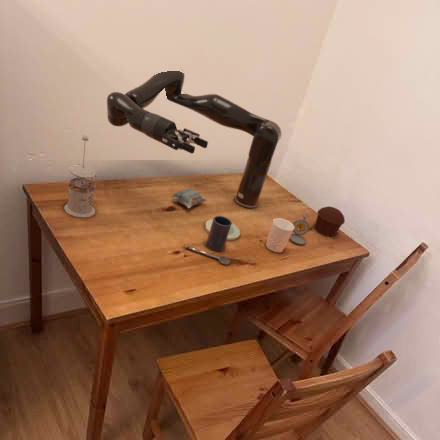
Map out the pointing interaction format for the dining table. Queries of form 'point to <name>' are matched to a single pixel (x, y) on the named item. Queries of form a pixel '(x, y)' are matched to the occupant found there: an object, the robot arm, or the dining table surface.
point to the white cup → (279, 234)
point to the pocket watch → (296, 237)
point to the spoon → (221, 259)
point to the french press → (81, 190)
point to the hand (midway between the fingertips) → (200, 147)
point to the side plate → (233, 231)
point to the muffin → (329, 221)
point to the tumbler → (218, 233)
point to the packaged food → (189, 197)
